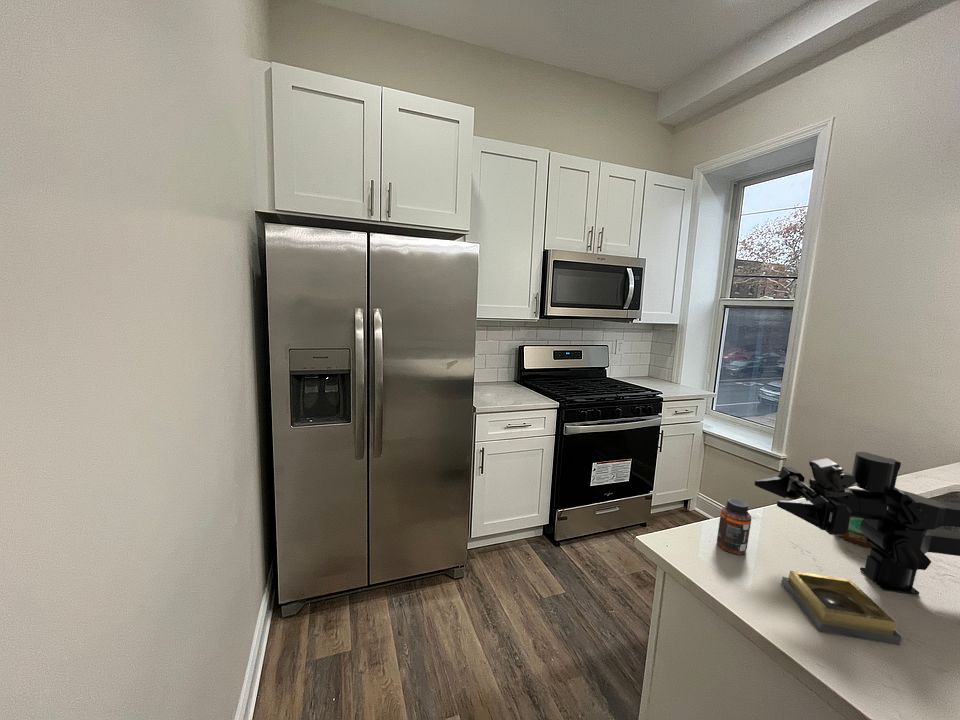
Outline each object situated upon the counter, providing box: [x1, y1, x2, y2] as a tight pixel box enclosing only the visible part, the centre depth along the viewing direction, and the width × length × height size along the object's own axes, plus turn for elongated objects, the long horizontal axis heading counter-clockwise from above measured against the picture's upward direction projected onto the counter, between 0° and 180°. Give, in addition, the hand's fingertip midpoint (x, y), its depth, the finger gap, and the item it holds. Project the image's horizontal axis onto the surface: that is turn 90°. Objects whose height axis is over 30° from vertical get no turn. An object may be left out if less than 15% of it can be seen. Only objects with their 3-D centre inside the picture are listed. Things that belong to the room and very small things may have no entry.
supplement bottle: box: [716, 498, 752, 555], centre depth 91 cm, size 6×6×11 cm
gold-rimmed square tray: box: [780, 570, 903, 646], centre depth 74 cm, size 12×12×4 cm
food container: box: [837, 517, 875, 549], centre depth 95 cm, size 12×6×10 cm, turn 68°
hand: (765, 492), depth 84 cm, fingers open, 9 cm apart
